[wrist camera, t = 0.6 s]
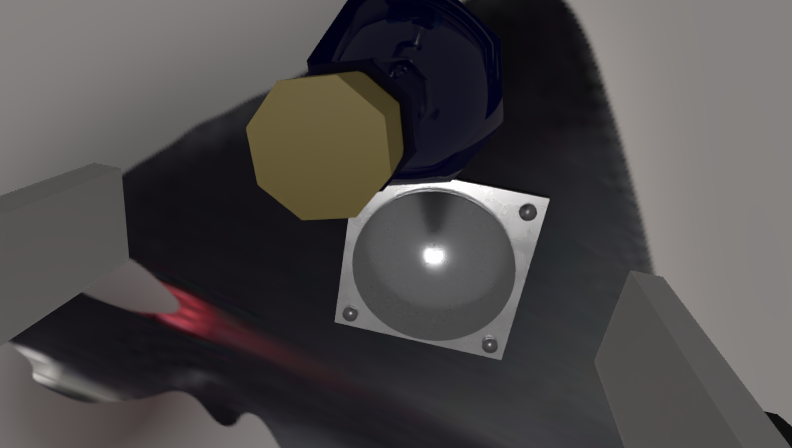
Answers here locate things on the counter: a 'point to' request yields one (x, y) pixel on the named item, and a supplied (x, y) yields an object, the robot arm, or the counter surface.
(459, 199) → the flange plate
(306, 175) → the bottle
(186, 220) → the counter surface
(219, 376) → the counter surface
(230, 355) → the counter surface
